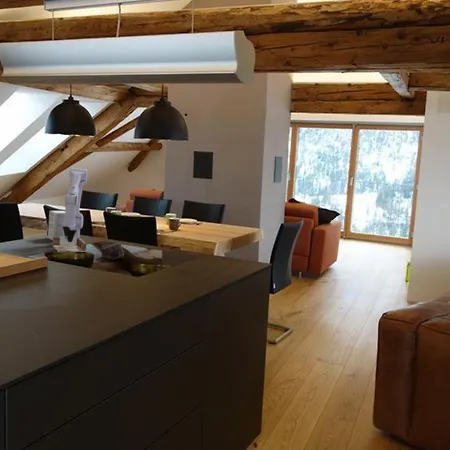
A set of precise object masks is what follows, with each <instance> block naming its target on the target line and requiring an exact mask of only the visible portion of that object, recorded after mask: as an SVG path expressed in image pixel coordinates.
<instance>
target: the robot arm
mask: <svg viewBox="0 0 450 450" xmlns="http://www.w3.org/2000/svg"><path fill="white" fill-rule="evenodd" d="M68 171H69V173H68V174H69V175H68V176H69V181H70V183H71V185H69V186H68V190H67V194H66V195H65V197H64V208H65V210H64V211H65V222H64V224H62V225H63V230H64V235H65V236H67V239H68V242H72V241H73V237H74V236H75V237H77V238H80V235H81V234H80V233H81V229H82V228H83V226H84V216H83V214H82V213H81V212H80V207H81V206H80V205H81V198H82V189H83V187H84V185H86V184H87V182H88V173H89V172H88V171H89V170H88V169H86V168H78V167H77V168H76V167H70V168H69V170H68Z"/></svg>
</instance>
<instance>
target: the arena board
mask: <svg viewBox="0 0 450 450" xmlns="http://www.w3.org/2000/svg"><path fill="white" fill-rule="evenodd" d="M76 246H78V245H76ZM52 247H53V249H54V250H55V249H56V250H57V251H84V250H82V249H81V248H80V247H79V246H78V249H61V248H60V247H59V245H53V244H52ZM56 250H55V251H56ZM57 251H56V252H57Z"/></svg>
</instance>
